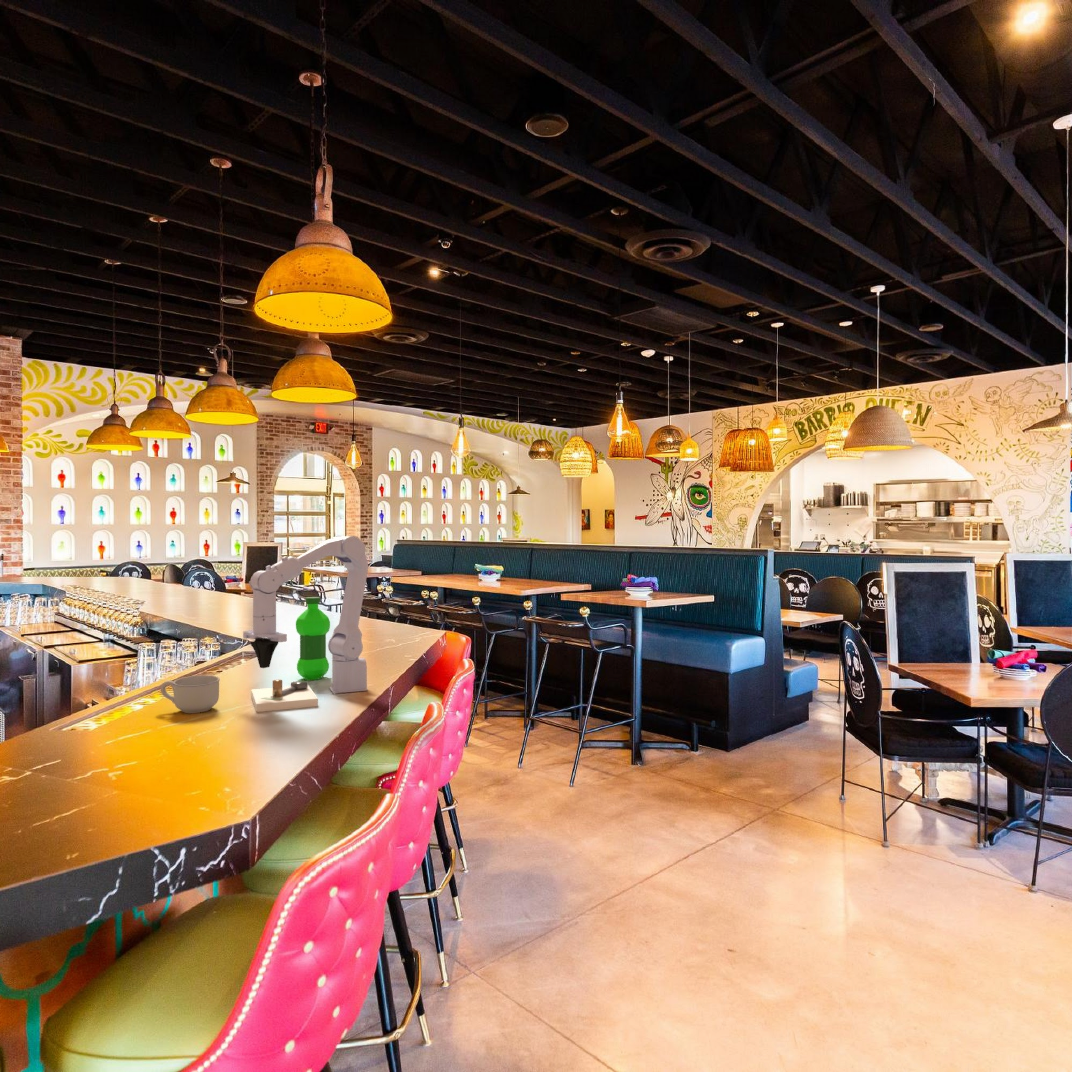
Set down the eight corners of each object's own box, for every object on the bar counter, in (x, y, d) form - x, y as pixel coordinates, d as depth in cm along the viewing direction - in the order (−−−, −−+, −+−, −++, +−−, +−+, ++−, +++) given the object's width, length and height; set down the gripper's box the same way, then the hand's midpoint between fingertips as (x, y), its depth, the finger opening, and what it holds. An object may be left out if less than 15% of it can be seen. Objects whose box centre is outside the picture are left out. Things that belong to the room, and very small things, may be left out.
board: (308, 691, 207) (308, 684, 207) (318, 706, 190) (317, 698, 190) (251, 696, 201) (251, 689, 201) (256, 712, 183) (256, 703, 183)
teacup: (227, 706, 190) (227, 675, 190) (204, 716, 179) (204, 683, 179) (177, 704, 191) (177, 674, 191) (151, 715, 181) (151, 682, 181)
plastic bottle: (288, 680, 223) (288, 598, 223) (308, 674, 233) (308, 595, 233) (317, 682, 220) (317, 599, 220) (336, 676, 230) (336, 596, 230)
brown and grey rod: (296, 686, 204) (296, 671, 204) (310, 686, 203) (310, 672, 203) (264, 697, 189) (263, 682, 189) (278, 698, 188) (278, 682, 188)
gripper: (233, 616, 193) (233, 667, 193) (271, 619, 186) (271, 672, 186) (255, 613, 200) (255, 663, 200) (293, 616, 192) (293, 668, 192)
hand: (264, 667), depth 193 cm, fingers closed
